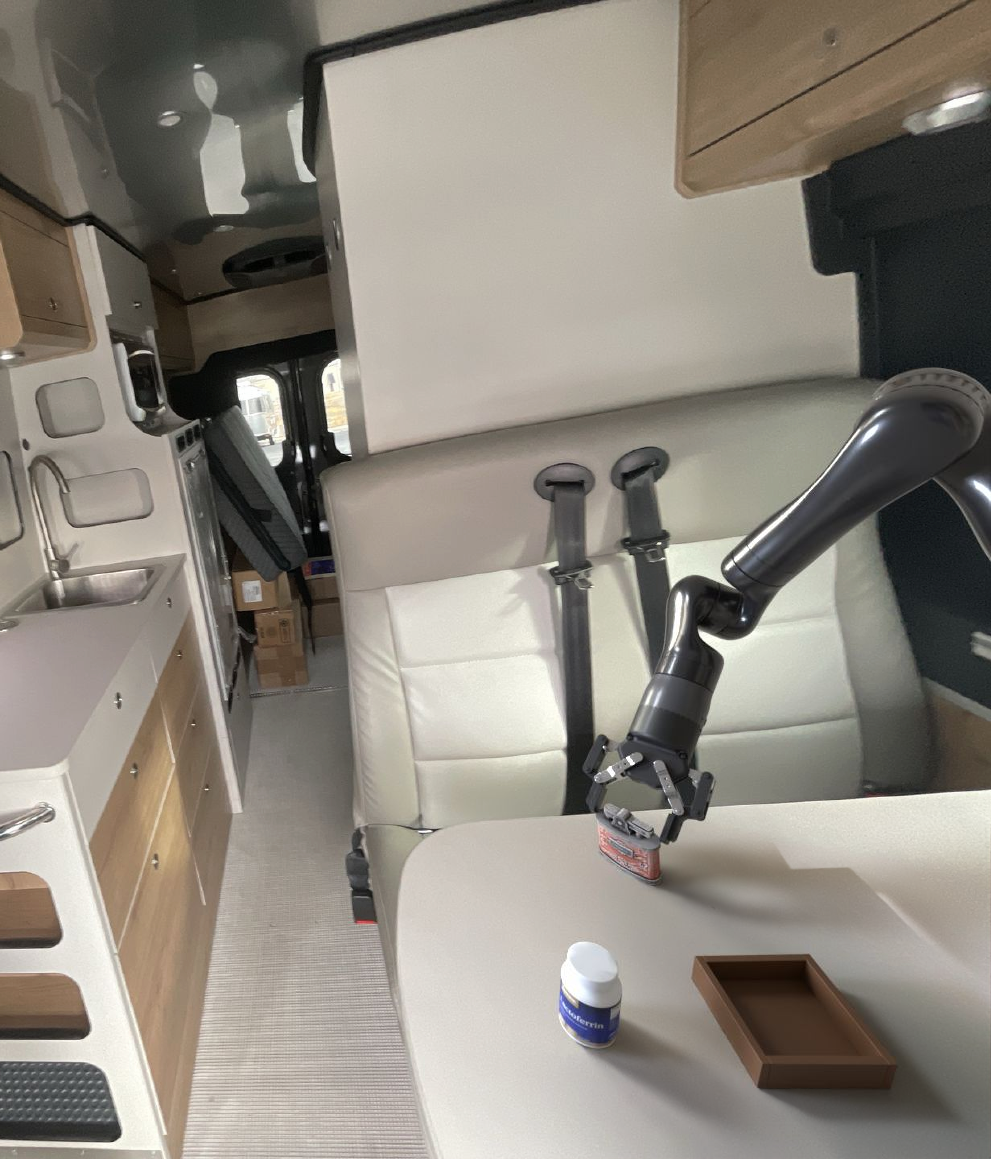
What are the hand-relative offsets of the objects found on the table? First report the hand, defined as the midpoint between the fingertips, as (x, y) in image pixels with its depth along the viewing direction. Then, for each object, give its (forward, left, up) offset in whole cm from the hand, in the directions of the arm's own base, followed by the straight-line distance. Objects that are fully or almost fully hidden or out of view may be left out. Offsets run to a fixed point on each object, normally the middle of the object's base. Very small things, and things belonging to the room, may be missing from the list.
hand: (627, 826), depth 87 cm
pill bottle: (+13, +21, -8) cm, 26 cm away
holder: (-6, +21, -8) cm, 24 cm away
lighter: (-1, -1, -8) cm, 8 cm away
